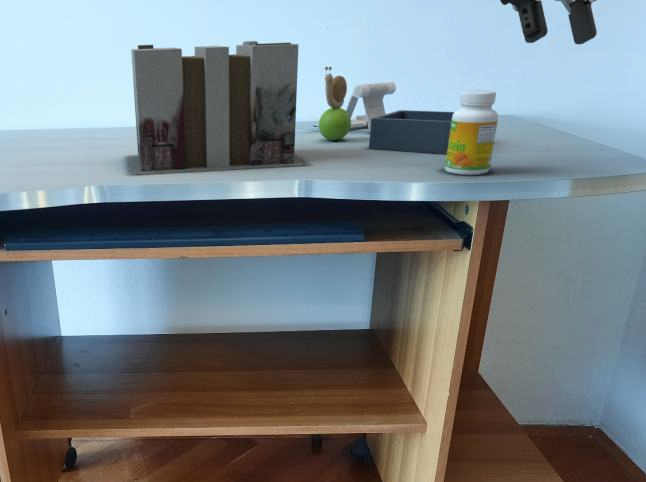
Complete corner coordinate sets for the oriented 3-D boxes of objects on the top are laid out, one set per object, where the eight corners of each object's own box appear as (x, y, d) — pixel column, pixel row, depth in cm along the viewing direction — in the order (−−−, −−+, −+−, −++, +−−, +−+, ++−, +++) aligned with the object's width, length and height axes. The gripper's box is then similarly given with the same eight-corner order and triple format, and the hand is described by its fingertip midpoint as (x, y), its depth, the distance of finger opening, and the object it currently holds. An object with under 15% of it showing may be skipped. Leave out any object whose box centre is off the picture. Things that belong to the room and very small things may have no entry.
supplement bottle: (435, 169, 85) (446, 91, 81) (469, 166, 87) (481, 89, 82) (463, 177, 80) (475, 94, 76) (498, 173, 82) (512, 92, 78)
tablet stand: (365, 126, 126) (369, 80, 122) (396, 130, 120) (401, 82, 116) (332, 130, 122) (335, 83, 118) (363, 135, 116) (367, 85, 112)
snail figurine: (309, 142, 110) (312, 66, 105) (327, 137, 115) (331, 64, 109) (337, 144, 107) (342, 66, 102) (355, 139, 111) (361, 64, 106)
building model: (129, 156, 103) (121, 45, 96) (281, 148, 105) (284, 39, 98) (132, 174, 89) (123, 46, 82) (307, 165, 91) (313, 39, 84)
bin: (472, 142, 104) (477, 112, 102) (449, 154, 95) (454, 121, 93) (396, 138, 111) (399, 110, 109) (368, 148, 102) (371, 118, 100)
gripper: (518, -136, 65) (552, 19, 65) (603, -119, 71) (635, 23, 71) (459, -84, 72) (490, 57, 71) (542, -73, 78) (570, 57, 77)
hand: (562, 40), depth 71 cm, fingers open, 8 cm apart
